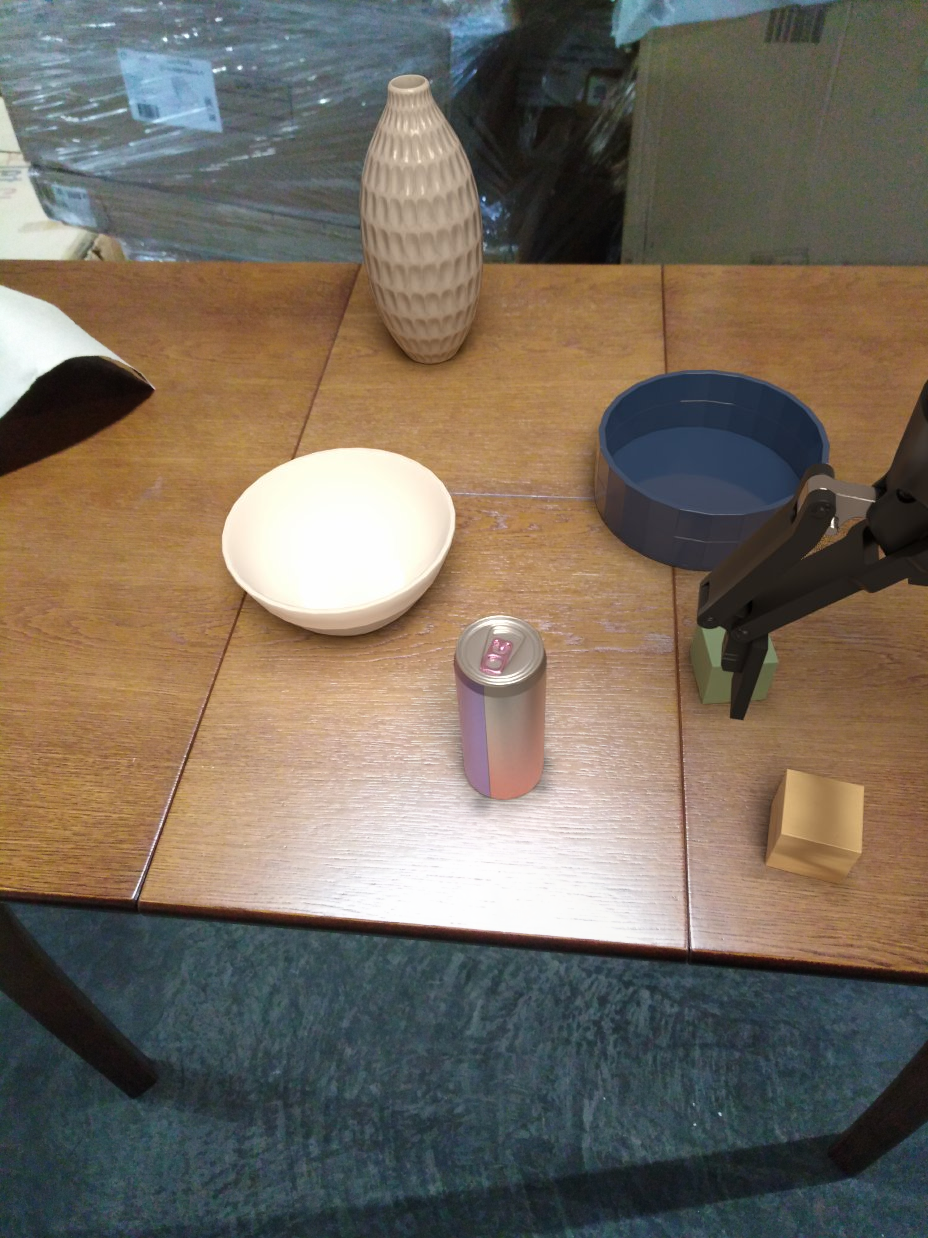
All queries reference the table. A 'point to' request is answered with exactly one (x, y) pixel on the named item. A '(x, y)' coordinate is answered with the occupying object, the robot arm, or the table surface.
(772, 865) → the beech block
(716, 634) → the sage block
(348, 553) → the bowl
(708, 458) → the navy round tub
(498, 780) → the beverage can
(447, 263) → the vase
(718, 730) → the table surface
